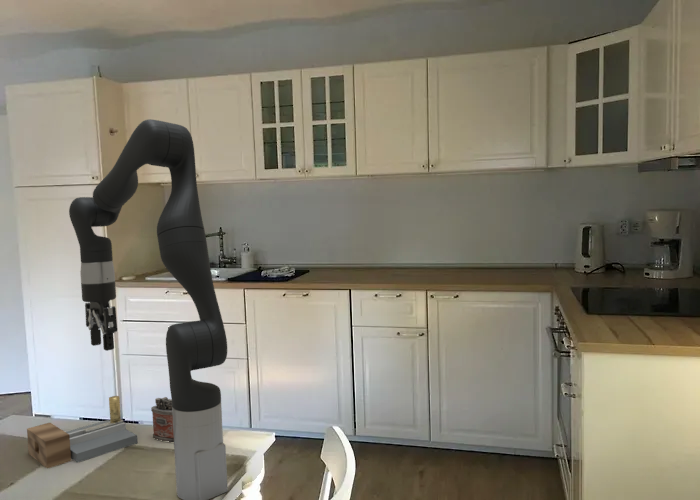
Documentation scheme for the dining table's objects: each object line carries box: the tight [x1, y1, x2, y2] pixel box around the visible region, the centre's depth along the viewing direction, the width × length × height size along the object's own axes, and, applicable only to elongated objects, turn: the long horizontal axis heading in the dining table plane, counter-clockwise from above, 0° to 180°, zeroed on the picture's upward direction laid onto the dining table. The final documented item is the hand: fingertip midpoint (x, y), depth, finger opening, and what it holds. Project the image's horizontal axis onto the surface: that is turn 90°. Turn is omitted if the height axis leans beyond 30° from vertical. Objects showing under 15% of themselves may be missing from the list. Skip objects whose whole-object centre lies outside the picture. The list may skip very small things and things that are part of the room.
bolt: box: [83, 395, 124, 434], centre depth 140 cm, size 2×9×8 cm, turn 136°
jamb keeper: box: [26, 422, 72, 469], centre depth 131 cm, size 12×5×6 cm, turn 46°
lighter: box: [150, 396, 174, 443], centre depth 140 cm, size 8×3×10 cm, turn 62°
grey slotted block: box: [65, 419, 139, 463], centre depth 139 cm, size 16×14×4 cm
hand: (102, 347), depth 140 cm, fingers open, 8 cm apart
